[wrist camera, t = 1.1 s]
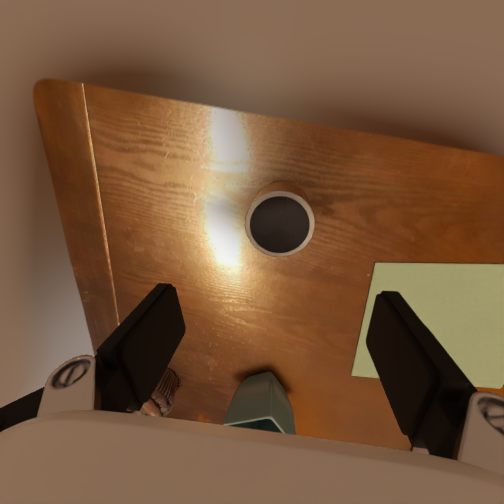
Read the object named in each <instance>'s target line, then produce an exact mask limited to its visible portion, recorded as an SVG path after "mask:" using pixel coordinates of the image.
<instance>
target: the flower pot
mask: <svg viewBox="0 0 504 504" xmlns="http://www.w3.org/2000/svg"><path fill="white" fill-rule="evenodd" d="M223 425H225V426H233V427H241V428H248V429H256V430H263V431H271V432H278V433H286V434H293V435H296V431H295V424H294V417H293V411H292V407H291V404H290V401H289V399H288V397H287V394H286V392H285V390H284V389H283V387H282V385H281V384H280V383H279V382H278V380H277V379H276V378H275V376H274V375H273V374H272V372H265V373H261V374H257V375H253V376H249V377H248V378H246V379H245V380H244V381H243V382H242V383H241V385H240V386H239V387H238V389H237V390H236V392H235V394H234V396H233V398H232V401H231V404H230V406H229V409H228V412H227V415H226V418H225V421H224V423H223Z"/></svg>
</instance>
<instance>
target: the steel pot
mask: <svg viewBox="0 0 504 504" xmlns="http://www.w3.org/2000/svg"><path fill="white" fill-rule="evenodd" d="M314 229H315V218H314V214H313V211H312V209H311V206H310V204H309V202H308V199H307V197H306V195H305V194H304V192H303V191H302V190H301V189H300V188H299V187H298V186H296V185H294V184H292V183H289V182H284V181H279V182H274V183H271V184H268V185H267V186H265V187H264V188H262V189H261V190H260V191H259V193H258V194H257V196H256V197H255V199H254V201H253V202H252V204H251V206H250V208H249V209H248V212H247V214H246V218H245V230H246V234H247V236H248V238H249V240H250V242H251V243H252V244H253V246H254V247H255V248H257V249H258V250H259V251H261V252H262V253H264V254H267V255H270V256H275V257H285V256H289V255H293V254H295V253H297V252H299V251H300V250H302V249H303V248H304V247H305V246H306V245H307V244H308V243H309V241H310V240H311V238H312V236H313V233H314Z"/></svg>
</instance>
